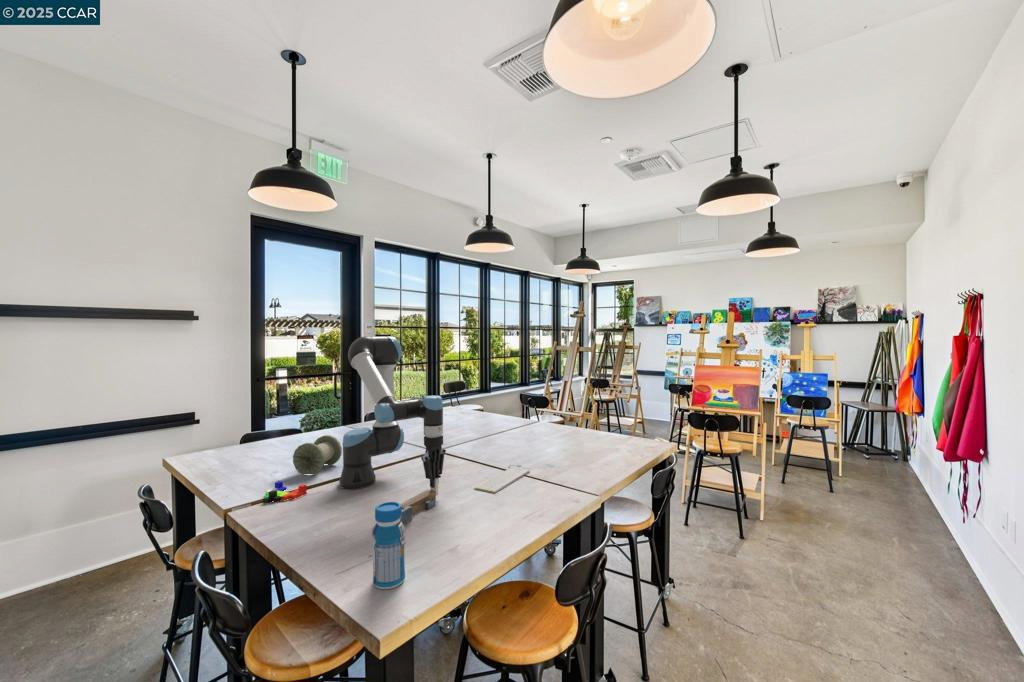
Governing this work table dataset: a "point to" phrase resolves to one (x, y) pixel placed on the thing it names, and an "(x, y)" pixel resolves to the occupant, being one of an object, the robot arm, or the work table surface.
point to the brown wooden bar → (419, 500)
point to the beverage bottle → (388, 546)
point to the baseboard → (502, 480)
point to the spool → (317, 454)
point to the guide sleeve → (429, 504)
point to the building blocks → (283, 493)
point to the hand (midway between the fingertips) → (434, 494)
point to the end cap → (406, 514)
